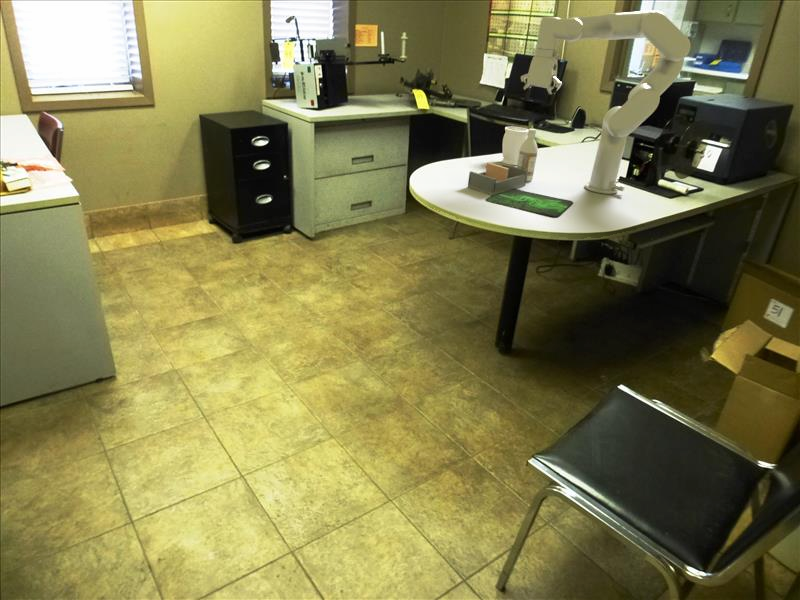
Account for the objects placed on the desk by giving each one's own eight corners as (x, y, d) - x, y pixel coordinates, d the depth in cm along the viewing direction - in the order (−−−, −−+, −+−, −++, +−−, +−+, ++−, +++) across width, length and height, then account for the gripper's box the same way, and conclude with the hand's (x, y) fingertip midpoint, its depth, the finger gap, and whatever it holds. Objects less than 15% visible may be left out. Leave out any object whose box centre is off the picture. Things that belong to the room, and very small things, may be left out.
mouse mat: (482, 201, 203) (482, 198, 203) (504, 187, 220) (505, 185, 220) (556, 219, 192) (557, 216, 192) (574, 203, 209) (574, 201, 209)
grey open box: (525, 185, 224) (527, 170, 221) (492, 195, 209) (494, 179, 206) (500, 178, 231) (503, 163, 228) (467, 187, 216) (469, 171, 213)
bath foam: (523, 182, 227) (532, 131, 218) (511, 177, 232) (519, 127, 223) (535, 181, 231) (545, 130, 221) (523, 176, 236) (532, 126, 226)
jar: (516, 159, 260) (522, 126, 253) (527, 165, 251) (533, 131, 244) (495, 160, 257) (500, 125, 249) (506, 166, 248) (511, 131, 241)
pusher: (505, 186, 216) (508, 168, 213) (497, 188, 213) (500, 170, 209) (486, 180, 221) (488, 162, 218) (478, 182, 218) (480, 164, 215)
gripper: (571, 56, 207) (561, 105, 215) (531, 51, 217) (523, 98, 225) (561, 57, 202) (551, 107, 210) (520, 51, 212) (512, 99, 220)
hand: (536, 102), depth 217 cm, fingers open, 9 cm apart
